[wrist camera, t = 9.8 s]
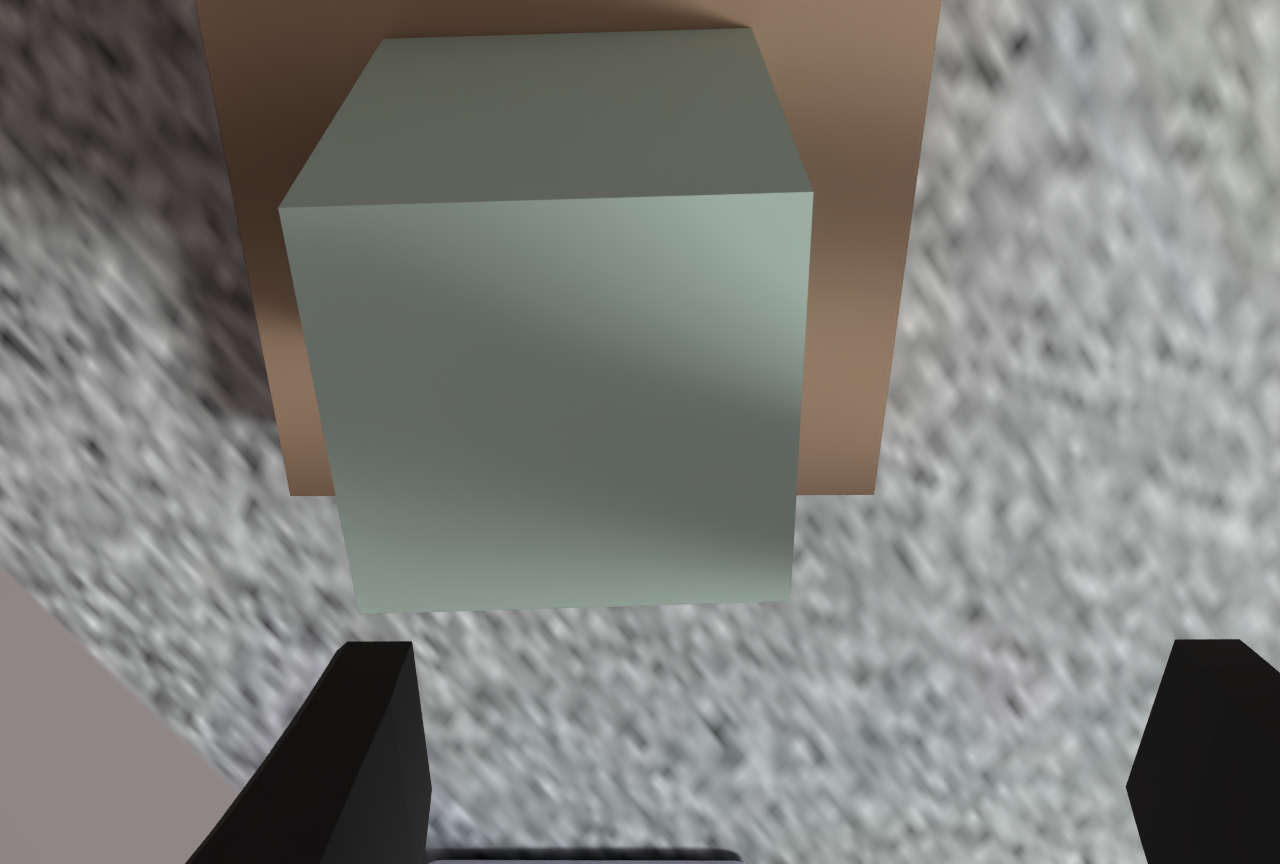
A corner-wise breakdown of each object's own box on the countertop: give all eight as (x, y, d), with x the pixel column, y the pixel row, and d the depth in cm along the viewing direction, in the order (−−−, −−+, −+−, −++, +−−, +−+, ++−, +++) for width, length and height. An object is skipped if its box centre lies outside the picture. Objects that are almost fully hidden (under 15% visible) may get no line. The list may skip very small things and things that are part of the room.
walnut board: (851, 417, 23) (873, 494, 21) (322, 417, 23) (290, 495, 20) (921, -172, 17) (960, -147, 15) (223, -174, 17) (166, -149, 15)
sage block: (743, 351, 19) (789, 600, 14) (427, 360, 19) (359, 613, 14) (751, 27, 16) (813, 192, 11) (383, 38, 16) (277, 208, 11)
